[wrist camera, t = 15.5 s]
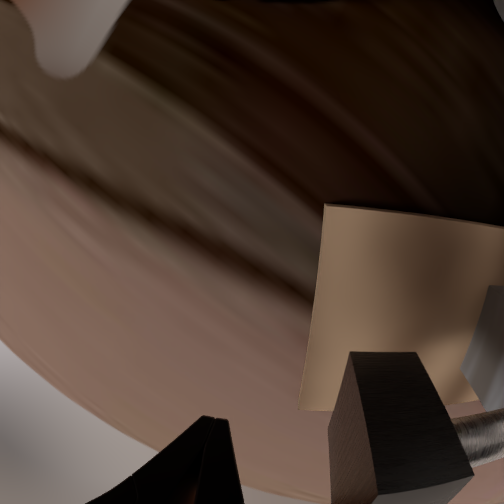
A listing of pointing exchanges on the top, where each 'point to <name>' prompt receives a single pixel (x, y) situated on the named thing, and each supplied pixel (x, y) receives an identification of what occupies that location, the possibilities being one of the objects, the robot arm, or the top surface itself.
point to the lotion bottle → (500, 7)
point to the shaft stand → (408, 302)
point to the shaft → (402, 435)
